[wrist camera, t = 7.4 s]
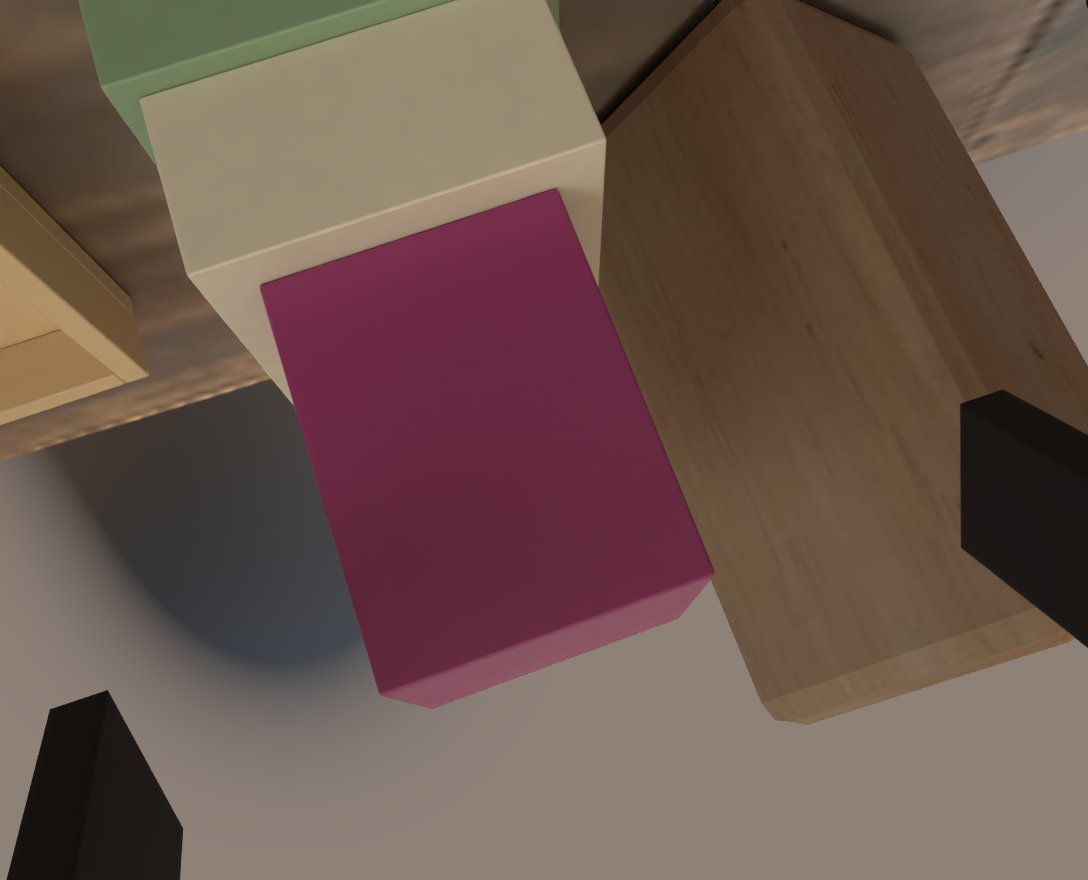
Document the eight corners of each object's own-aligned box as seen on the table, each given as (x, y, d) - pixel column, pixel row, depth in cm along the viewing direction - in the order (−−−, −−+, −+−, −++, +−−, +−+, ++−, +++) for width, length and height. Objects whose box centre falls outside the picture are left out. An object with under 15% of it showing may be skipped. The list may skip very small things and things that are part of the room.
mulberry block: (331, 392, 24) (430, 710, 22) (257, 284, 19) (379, 697, 16) (560, 315, 25) (680, 618, 22) (557, 185, 19) (717, 574, 17)
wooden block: (912, 37, 35) (1216, 572, 29) (710, 207, 41) (923, 668, 36) (742, -42, 28) (1095, 636, 22) (533, 177, 35) (761, 741, 29)
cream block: (263, 285, 26) (303, 418, 25) (137, 97, 19) (186, 276, 18) (546, 192, 27) (597, 318, 26) (535, -27, 19) (607, 139, 18)
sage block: (211, 163, 28) (251, 299, 27) (52, -93, 20) (99, 88, 18) (510, 68, 29) (563, 196, 27) (484, -220, 20) (559, -54, 19)
